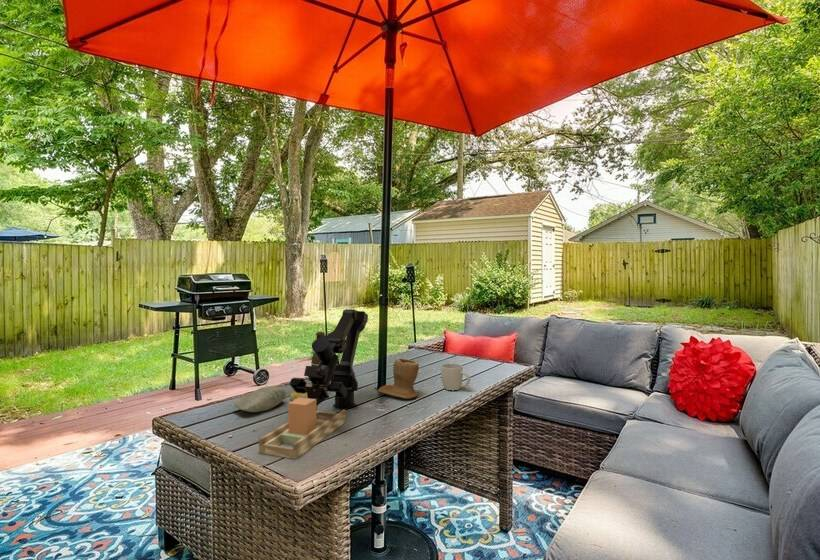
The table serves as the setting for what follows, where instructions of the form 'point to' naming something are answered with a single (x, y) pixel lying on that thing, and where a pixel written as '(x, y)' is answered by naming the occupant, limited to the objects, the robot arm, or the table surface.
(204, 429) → the table surface
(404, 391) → the brown boot
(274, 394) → the rock
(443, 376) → the mug
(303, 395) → the bread roll
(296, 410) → the terracotta block
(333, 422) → the wooden compartment tray
